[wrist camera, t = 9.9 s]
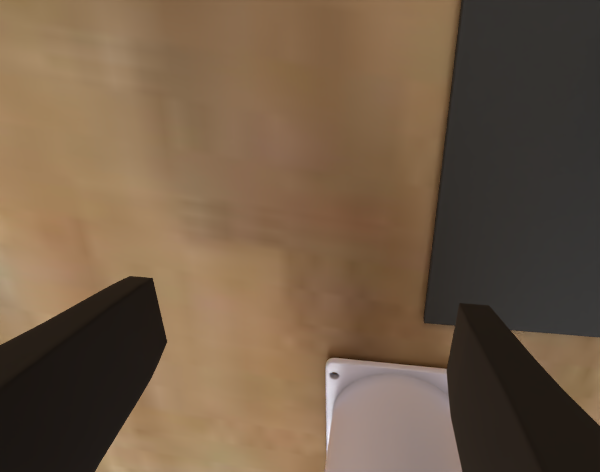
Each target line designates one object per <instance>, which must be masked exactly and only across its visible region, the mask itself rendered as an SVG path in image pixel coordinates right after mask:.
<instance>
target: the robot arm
mask: <svg viewBox="0 0 600 472" xmlns="http://www.w3.org/2000/svg"><path fill="white" fill-rule="evenodd" d="M166 343H167V339H166V335H165V330H164V326H163V322H162V317H161V313H160V309H159V304H158V300H157V295H156V291H155V287H154V282H153V278H145V277H133V276H129V277H127V278H125V279H123V280H121V281H119V282H117V283H115V284H113V285H111V286H109V287H107V288H105V289H103V290H102V291H100V292H98V293H96V294H94V295H93V296H91V297H89V298H87V299H85V300H84V301H82V302H80V303H78V304H77V305H75V306H73V307H71V308H69V309H68V310H66V311H64V312H62V313H60V314H59V315H57V316H55V317H53V318H51V319H50V320H48V321H46V322H44V323H42V324H40V325H38V326H36V327H35V328H33V329H31V330H29V331H27V332H25V333H23V334H21V335H19V336H17V337H15V338H13V339H11V340H10V341H8V342H6V343H4V344H2V345H0V472H95V470H96V469H97V467H98V465H99V463H100V462H101V460H102V458H103V457H104V455H105V454H106V452H107V450H108V449H109V447H110V445H111V444H112V442H113V441H114V439H115V437H116V436H117V434H118V432H119V431H120V429H121V428H122V426H123V424H124V423H125V421H126V419H127V418H128V416H129V415H130V413H131V411H132V410H133V408H134V406H135V405H136V403H137V401H138V400H139V398H140V396H141V395H142V393H143V391H144V390H145V388H146V386H147V385H148V383H149V381H150V380H151V378H152V375H153V373H154V371H155V369H156V367H157V365H158V363H159V360H160V358H161V355H162V353H163V351H164V348H165V346H166ZM325 370H326V450H327V457H326V465H325V472H600V426H599V425H598V424H597V423H596V422H595V421H594V420H593V419H592V418H591V417H590V416H589V415H588V414H587V413H586V412H585V411H584V410H583V409H582V408H581V407H580V406H579V405H578V404H577V403H576V402H575V401H574V400H573V399H572V398H571V397H570V396H569V395H568V394H567V393H566V392H565V391H564V390H563V389H562V388H561V387H560V386H559V385H558V384H557V383H556V382H555V380H554V379H553V378H552V377H551V376H550V375H549V374H548V373H547V372H546V371H545V370H544V368H543V367H542V366H541V365H540V364H539V363H538V362H537V361H536V360H535V358H534V357H533V356H532V355H531V354H530V353H529V352H528V351H527V349H526V348H525V347H524V346H523V345H522V344H521V342H520V341H519V340H518V339H517V338H516V337H515V335H514V334H513V333H512V332H511V331H510V329H509V328H508V327H507V326H506V325H505V323H504V322H503V321H502V320H501V319H500V318H499V316H498V315H497V314H496V313H495V312H494V311H493V309H492V308H491V307H490V306H489V305H478V304H466V303H459V308H458V313H457V318H456V324H455V329H454V334H453V340H452V345H451V350H450V356H449V361H448V367H447V369H444V368H434V367H424V366H413V365H403V364H393V363H383V362H373V361H363V360H353V359H342V358H330V359H328V360H327V362H326V367H325ZM332 372H335V373H337V374H333V373H332Z"/></svg>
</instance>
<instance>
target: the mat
mask: <svg viewBox="0 0 600 472" xmlns="http://www.w3.org/2000/svg"><path fill="white" fill-rule="evenodd" d="M459 303H466V304H478V305H489V306H490V307H491V308H492V309H493V311H494V312H495V313H496V314H497V315H498V316H499V318H500V319H501V320H502V321H503V322H504V323H505V325H506V326H507V327H508V328H509V329H510V330H516V331H528V332H540V333H553V334H565V335H577V336H589V337H600V0H462V2H461V10H460V19H459V27H458V35H457V44H456V52H455V61H454V69H453V77H452V86H451V94H450V102H449V111H448V119H447V128H446V136H445V144H444V153H443V161H442V169H441V178H440V186H439V194H438V203H437V211H436V220H435V228H434V236H433V245H432V253H431V261H430V270H429V278H428V287H427V295H426V303H425V312H424V323H430V324H442V325H454V326H455V324H456V318H457V313H458V308H459Z"/></svg>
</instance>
